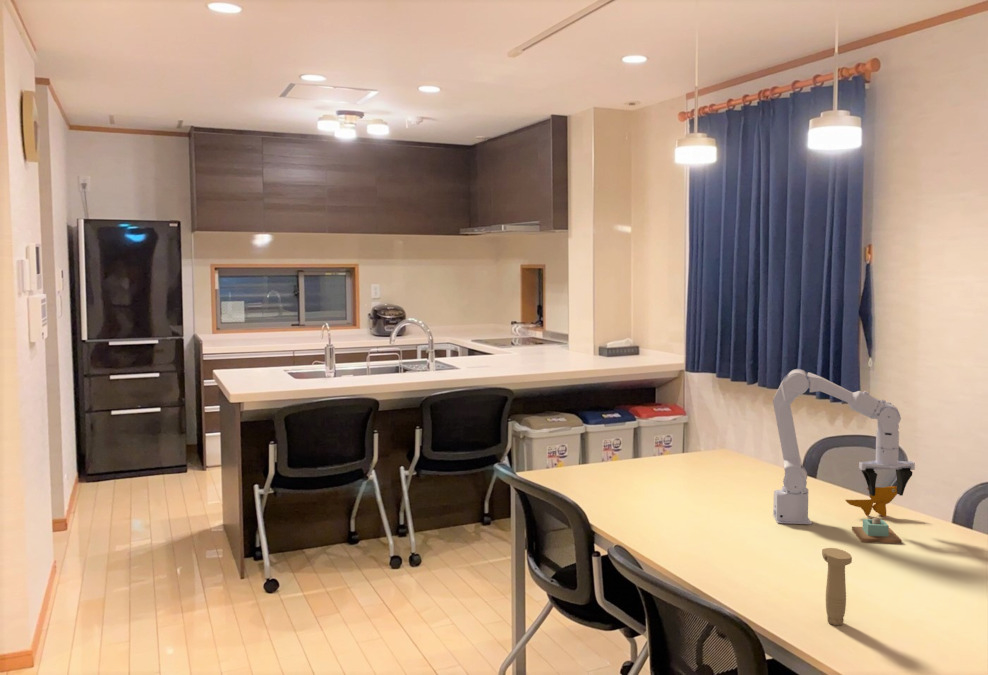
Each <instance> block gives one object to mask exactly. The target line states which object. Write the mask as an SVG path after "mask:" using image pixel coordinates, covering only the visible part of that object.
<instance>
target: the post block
mask: <svg viewBox="0 0 988 675" xmlns="http://www.w3.org/2000/svg"><path fill="white" fill-rule="evenodd" d="M880 520H882V519H881V518H880V517H872V524H880ZM851 530H852V532H853V533H854V534H856V535H855V536H856V537H857V538H858V540H860V542H861V543H872V542H882V543H881V544H897V543H902V541H903V540H902V539H901V538H900V536H898V535H897V534H896V533H895V531H894V530H892V529H891V528H890V527H889V534H888V536H868V535H867V534H866V533H865V532H864V531H863V526H851Z"/></svg>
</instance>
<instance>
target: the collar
mask: <svg viewBox="0 0 988 675" xmlns="http://www.w3.org/2000/svg"><path fill="white" fill-rule="evenodd" d="M862 527H863V531H864V532H865V533H866V534H867V535H868V536H888V534H889V528H890V526H889V524H888V523H887V522H886V521H885V520H884V519H881V520H880V524H872V519H871V518H863V519H862Z"/></svg>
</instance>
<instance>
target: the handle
mask: <svg viewBox="0 0 988 675" xmlns="http://www.w3.org/2000/svg"><path fill="white" fill-rule="evenodd" d="M821 554H822V555H821V556H822V559H823V560H824V561H825V562H826V563H827V575H826V577H827V578H826V586H825V587H826V588H825V609H826V610H825V611H826V617H827V622H828V623H827V624H829V625H834V626H842V625H843V624H844V621H845V620H844V618H845V614H846V609H847V608H846V607H847V589H846V566H848V565H850V564H852V563H853V562H852V561H853V560H852V559H853V556H852V555H851V554H850V553H849V552H848V551H845V550H843V549H841V548H840V549H839V548H836V547H826V548H825V547H824V548H822V549H821Z"/></svg>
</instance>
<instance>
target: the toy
mask: <svg viewBox="0 0 988 675" xmlns="http://www.w3.org/2000/svg"><path fill="white" fill-rule="evenodd" d="M866 489H867V490H868V491H869V489H868V487H866ZM897 495H898V494H897V485H896V486H895V485H891V486H884V487H882V486H881V487H876V486H875V496H872V495H870V494H869V498H870V499H869V498H868V499H844V501H845V502H846V503H847V504H848V505H850V506H853V507H857V508H861V510H862V511H863V512H864V515H865V516H867V517H869V516H870V514H871V513H872V510H873V511H874V512H875V513H877V514H878V515H880V516H882V517H884V518H887V506H886V505H888V504H889V503H891V502H892V501H893V500H894V499H895V498H896V496H897Z"/></svg>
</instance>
